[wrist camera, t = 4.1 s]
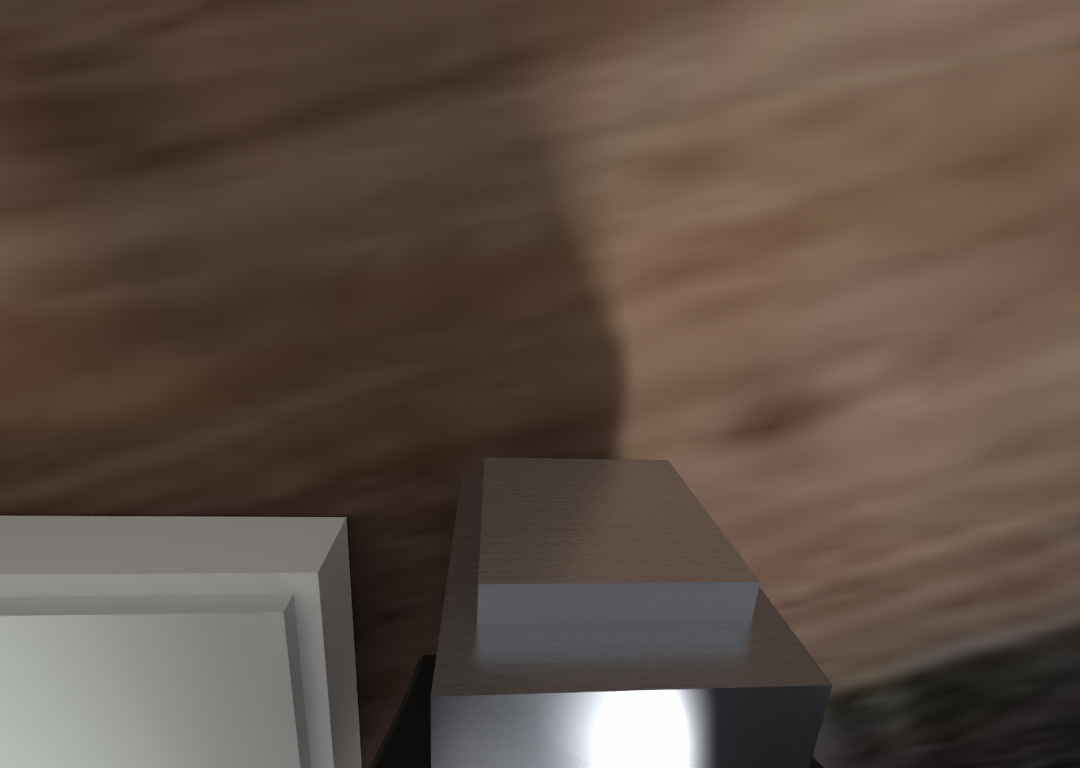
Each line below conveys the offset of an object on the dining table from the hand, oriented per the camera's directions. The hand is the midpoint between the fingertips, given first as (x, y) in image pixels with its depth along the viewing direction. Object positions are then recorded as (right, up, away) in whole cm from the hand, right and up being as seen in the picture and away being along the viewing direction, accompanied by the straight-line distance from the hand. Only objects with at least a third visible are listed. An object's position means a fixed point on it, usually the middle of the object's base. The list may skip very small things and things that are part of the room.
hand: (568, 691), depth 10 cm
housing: (0, 0, +1) cm, 1 cm away
